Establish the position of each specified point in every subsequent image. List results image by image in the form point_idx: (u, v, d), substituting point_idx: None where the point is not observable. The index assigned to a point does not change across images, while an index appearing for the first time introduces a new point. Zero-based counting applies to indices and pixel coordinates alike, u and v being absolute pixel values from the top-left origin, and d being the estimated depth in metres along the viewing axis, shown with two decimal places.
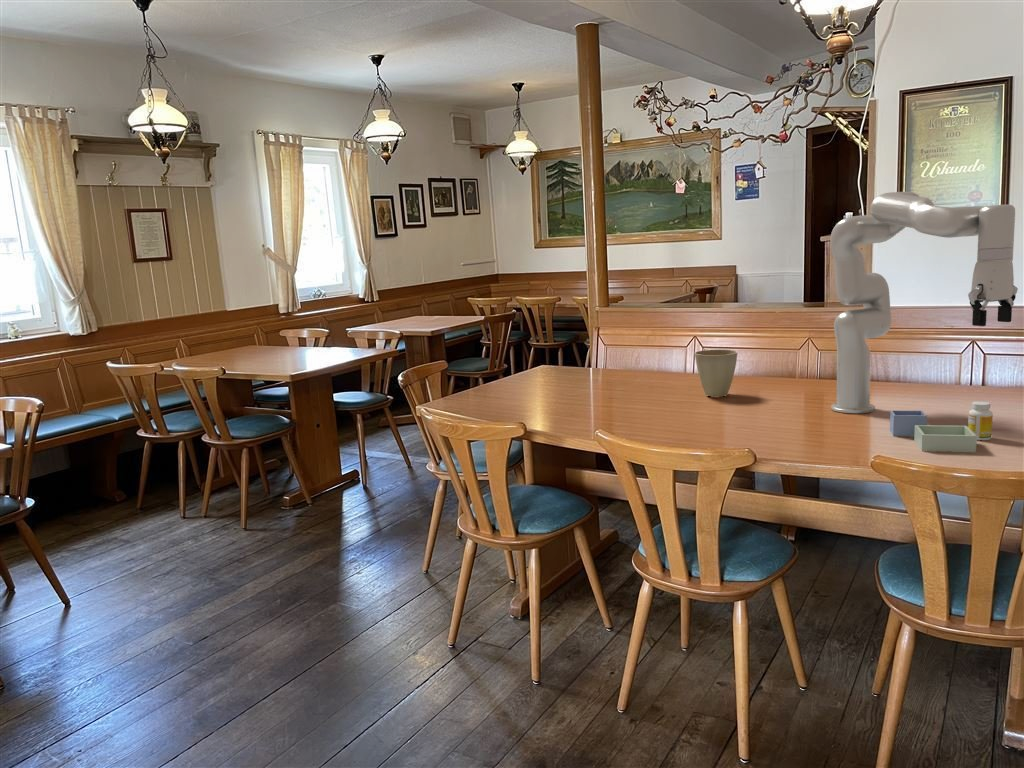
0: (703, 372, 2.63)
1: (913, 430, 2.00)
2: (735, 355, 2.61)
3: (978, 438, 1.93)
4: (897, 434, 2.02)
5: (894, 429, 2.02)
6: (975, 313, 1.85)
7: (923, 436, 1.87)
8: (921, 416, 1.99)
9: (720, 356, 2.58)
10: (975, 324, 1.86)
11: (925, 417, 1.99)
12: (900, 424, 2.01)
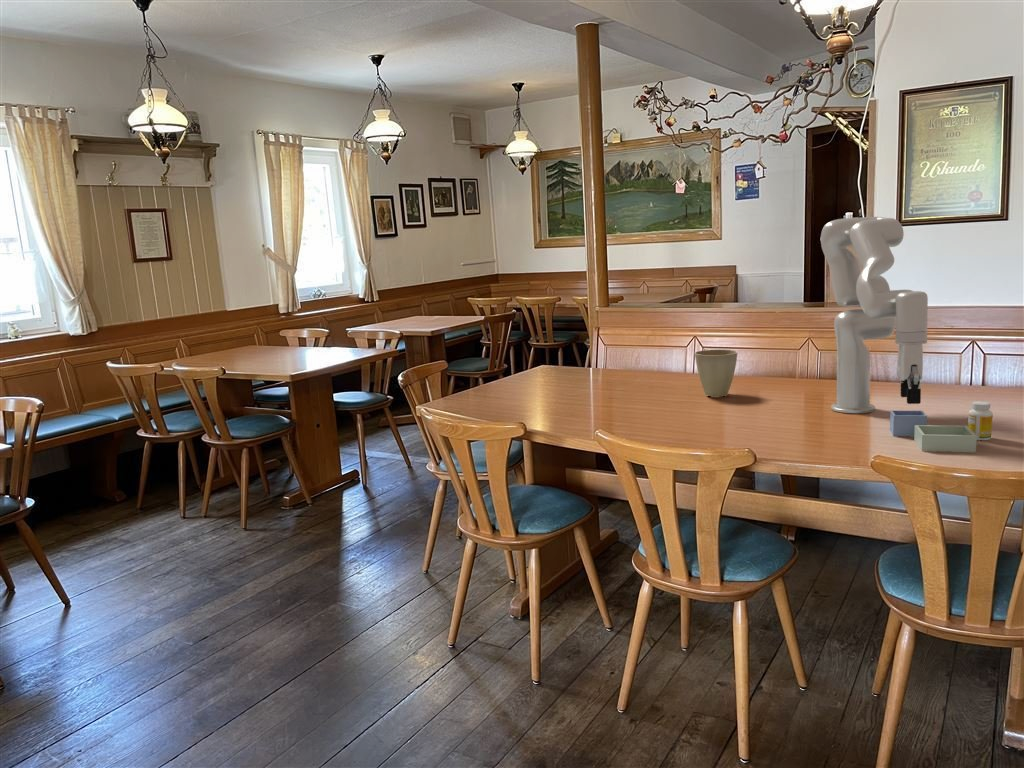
0: (703, 372, 2.63)
1: (913, 430, 2.00)
2: (735, 355, 2.61)
3: (978, 438, 1.93)
4: (897, 434, 2.02)
5: (894, 429, 2.02)
6: (913, 392, 1.96)
7: (923, 436, 1.87)
8: (921, 416, 1.99)
9: (720, 356, 2.58)
10: (910, 402, 1.97)
11: (925, 417, 1.99)
12: (900, 424, 2.01)
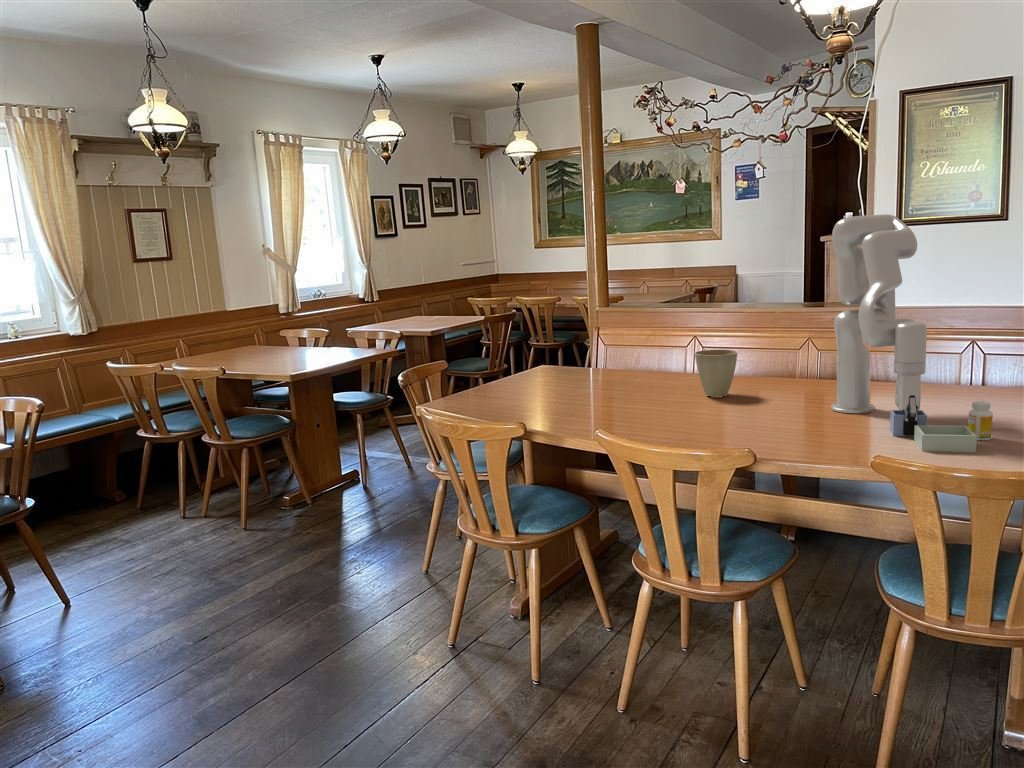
0: (703, 372, 2.63)
1: None
2: (735, 355, 2.61)
3: (978, 438, 1.93)
4: (897, 434, 2.02)
5: (894, 429, 2.02)
6: (909, 424, 1.99)
7: (923, 436, 1.87)
8: (921, 416, 1.99)
9: (720, 356, 2.58)
10: (907, 434, 2.01)
11: (925, 417, 1.99)
12: (900, 424, 2.01)
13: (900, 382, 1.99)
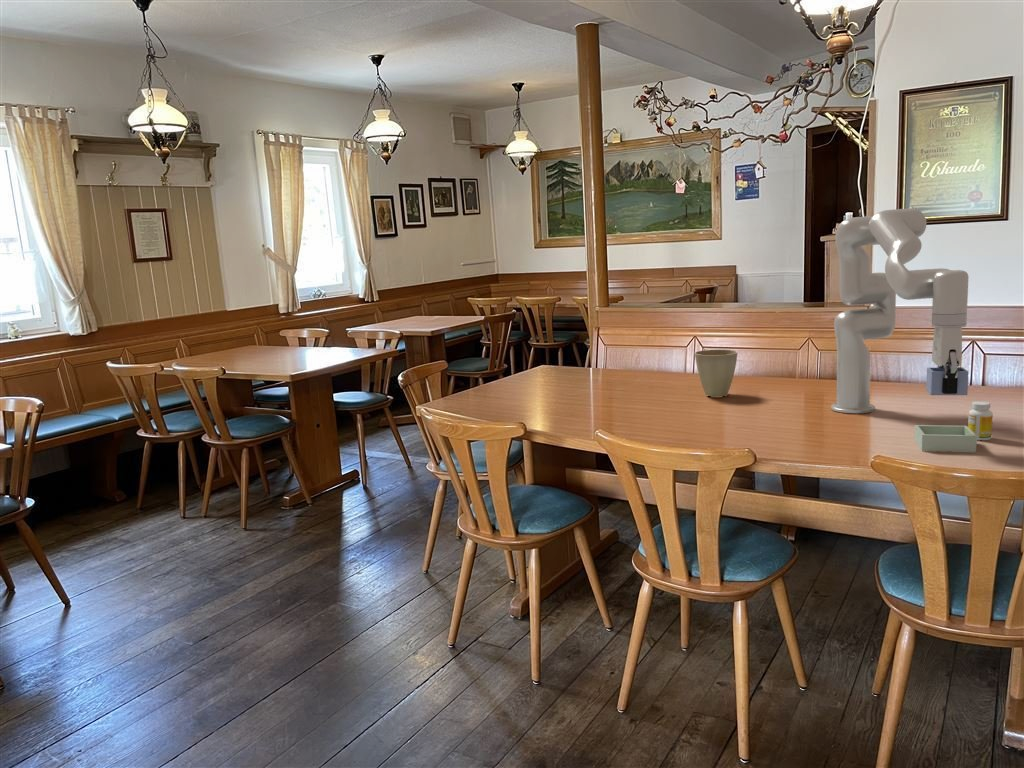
0: (703, 372, 2.63)
1: None
2: (735, 355, 2.61)
3: (978, 438, 1.93)
4: (935, 392, 1.86)
5: (932, 387, 1.86)
6: (949, 382, 1.83)
7: (923, 436, 1.87)
8: (962, 372, 1.83)
9: (720, 356, 2.58)
10: (946, 392, 1.85)
11: (966, 373, 1.83)
12: (939, 381, 1.85)
13: (939, 335, 1.83)
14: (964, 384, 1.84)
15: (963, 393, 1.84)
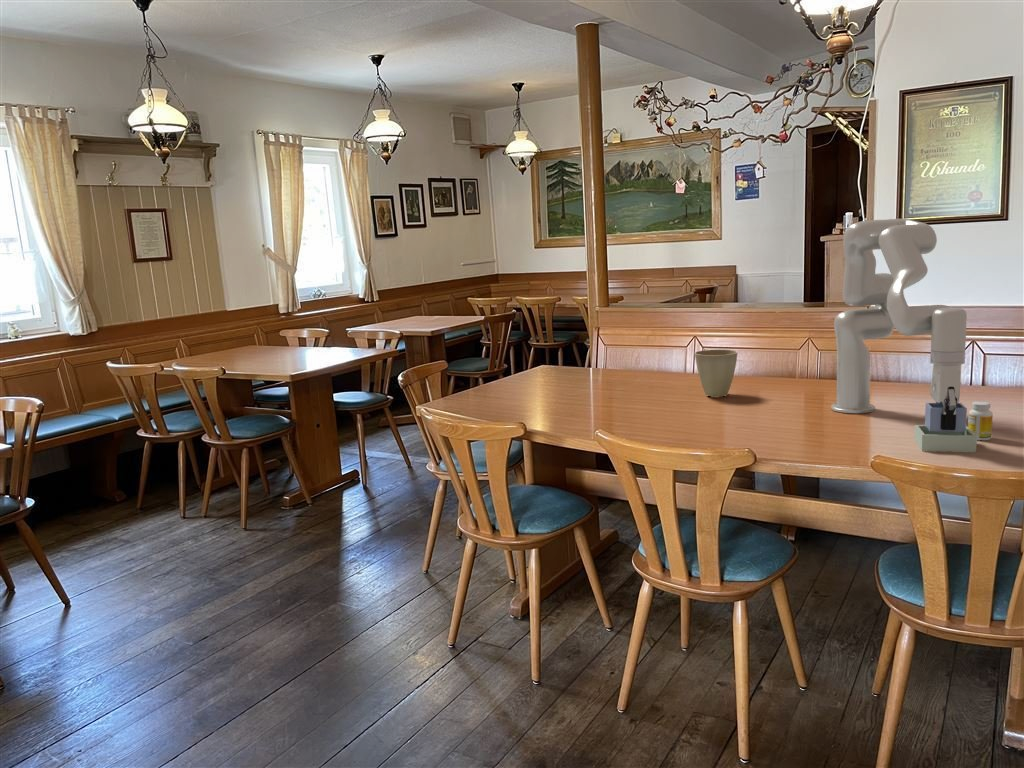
0: (703, 372, 2.63)
1: None
2: (735, 355, 2.61)
3: (978, 438, 1.93)
4: (934, 428, 1.88)
5: (931, 423, 1.88)
6: (947, 418, 1.85)
7: (923, 436, 1.87)
8: (960, 409, 1.85)
9: (720, 356, 2.58)
10: (944, 428, 1.86)
11: (965, 410, 1.85)
12: (937, 417, 1.87)
13: (938, 372, 1.85)
14: (962, 420, 1.85)
15: (961, 429, 1.86)
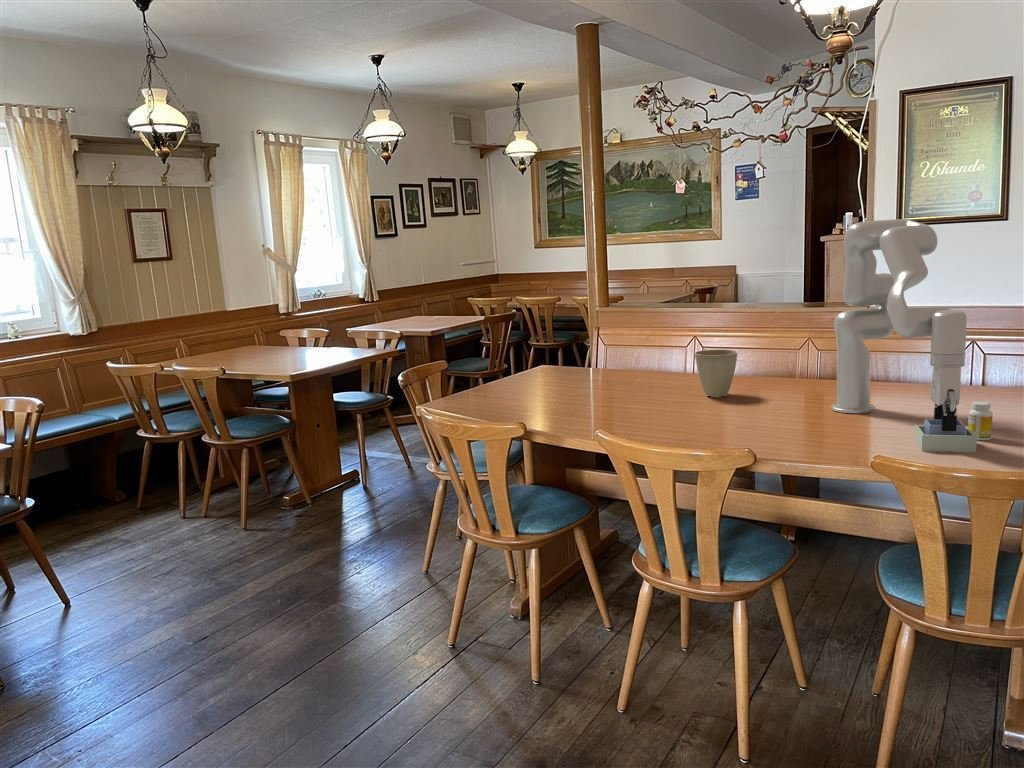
0: (703, 372, 2.63)
1: None
2: (735, 355, 2.61)
3: (978, 438, 1.93)
4: None
5: None
6: (948, 419, 1.84)
7: (923, 436, 1.87)
8: (959, 426, 1.86)
9: (720, 356, 2.58)
10: (945, 429, 1.85)
11: (963, 427, 1.86)
12: (936, 434, 1.88)
13: (937, 375, 1.85)
14: None
15: None
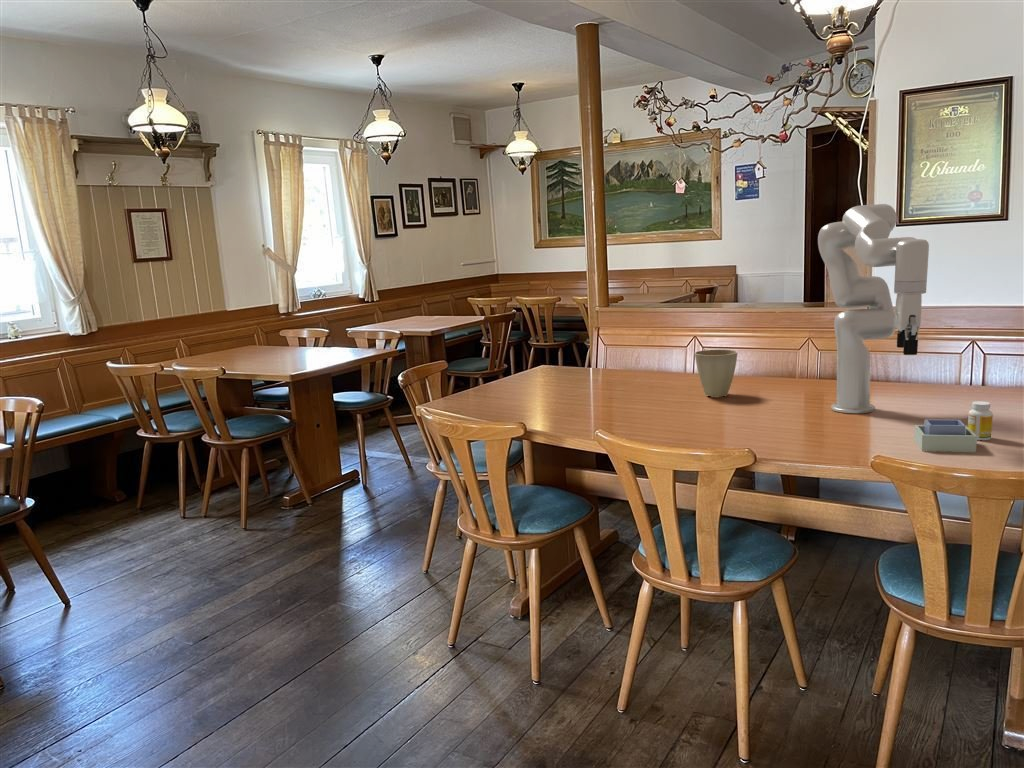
0: (703, 372, 2.63)
1: None
2: (735, 355, 2.61)
3: (978, 438, 1.93)
4: None
5: None
6: (910, 343, 1.92)
7: (923, 436, 1.87)
8: (959, 426, 1.86)
9: (720, 356, 2.58)
10: (907, 353, 1.94)
11: (963, 427, 1.86)
12: (936, 434, 1.88)
13: (900, 302, 1.93)
14: None
15: None
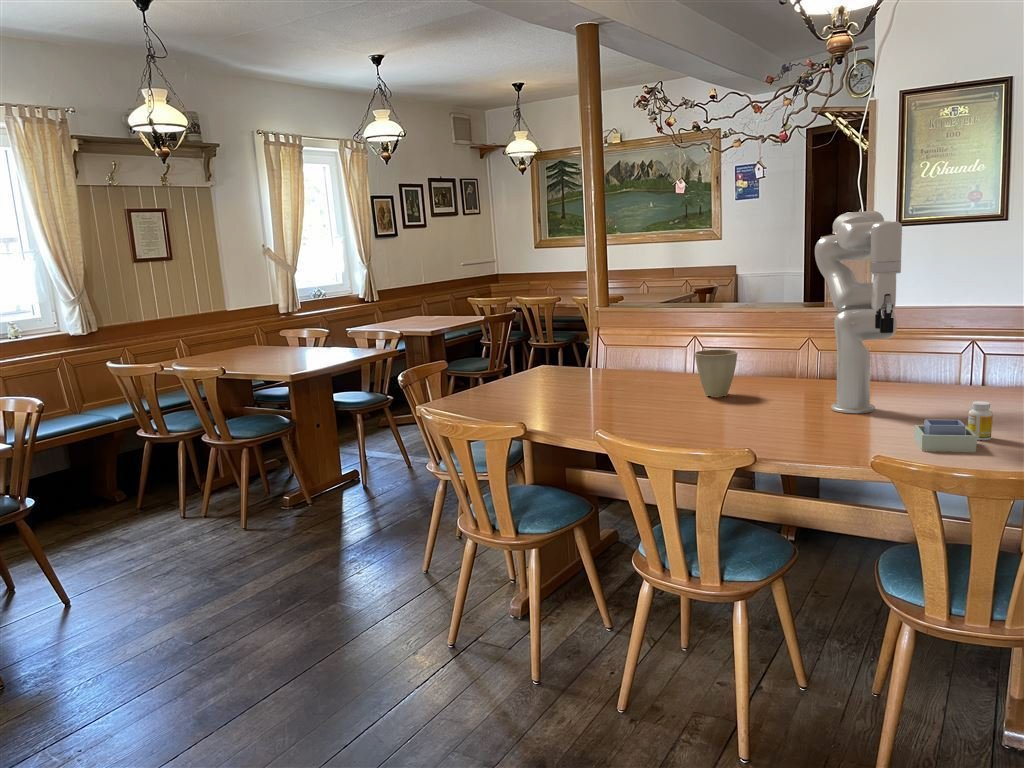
0: (703, 372, 2.63)
1: None
2: (735, 355, 2.61)
3: (978, 438, 1.93)
4: None
5: None
6: (886, 321, 1.99)
7: (923, 436, 1.87)
8: (959, 426, 1.86)
9: (720, 356, 2.58)
10: (883, 331, 2.00)
11: (963, 427, 1.86)
12: (936, 434, 1.88)
13: (876, 282, 2.00)
14: None
15: None
